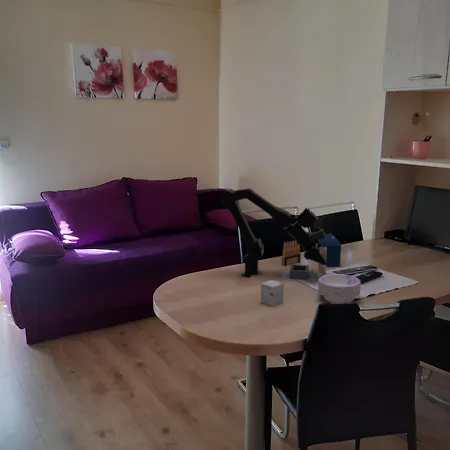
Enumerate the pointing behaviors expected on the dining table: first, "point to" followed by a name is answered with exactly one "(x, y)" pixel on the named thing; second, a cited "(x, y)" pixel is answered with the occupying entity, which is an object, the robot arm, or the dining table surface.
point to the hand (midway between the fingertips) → (325, 262)
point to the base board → (310, 278)
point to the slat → (321, 267)
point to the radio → (331, 250)
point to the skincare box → (272, 292)
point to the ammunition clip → (291, 253)
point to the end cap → (299, 272)
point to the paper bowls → (339, 288)
